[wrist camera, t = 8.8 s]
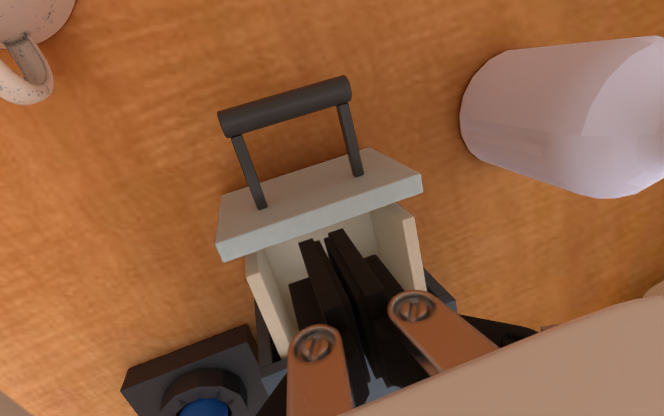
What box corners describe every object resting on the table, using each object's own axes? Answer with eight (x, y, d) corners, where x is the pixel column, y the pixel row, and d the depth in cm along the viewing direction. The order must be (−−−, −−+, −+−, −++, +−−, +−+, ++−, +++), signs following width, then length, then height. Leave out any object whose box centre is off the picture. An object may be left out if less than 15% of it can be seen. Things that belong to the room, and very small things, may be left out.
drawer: (186, 114, 22) (162, 132, 15) (353, 66, 23) (404, 61, 16) (279, 335, 29) (293, 416, 22) (400, 288, 31) (448, 350, 24)
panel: (246, 323, 29) (248, 358, 26) (276, 386, 32) (280, 424, 29) (128, 368, 28) (111, 412, 24) (170, 429, 31) (162, 475, 28)
